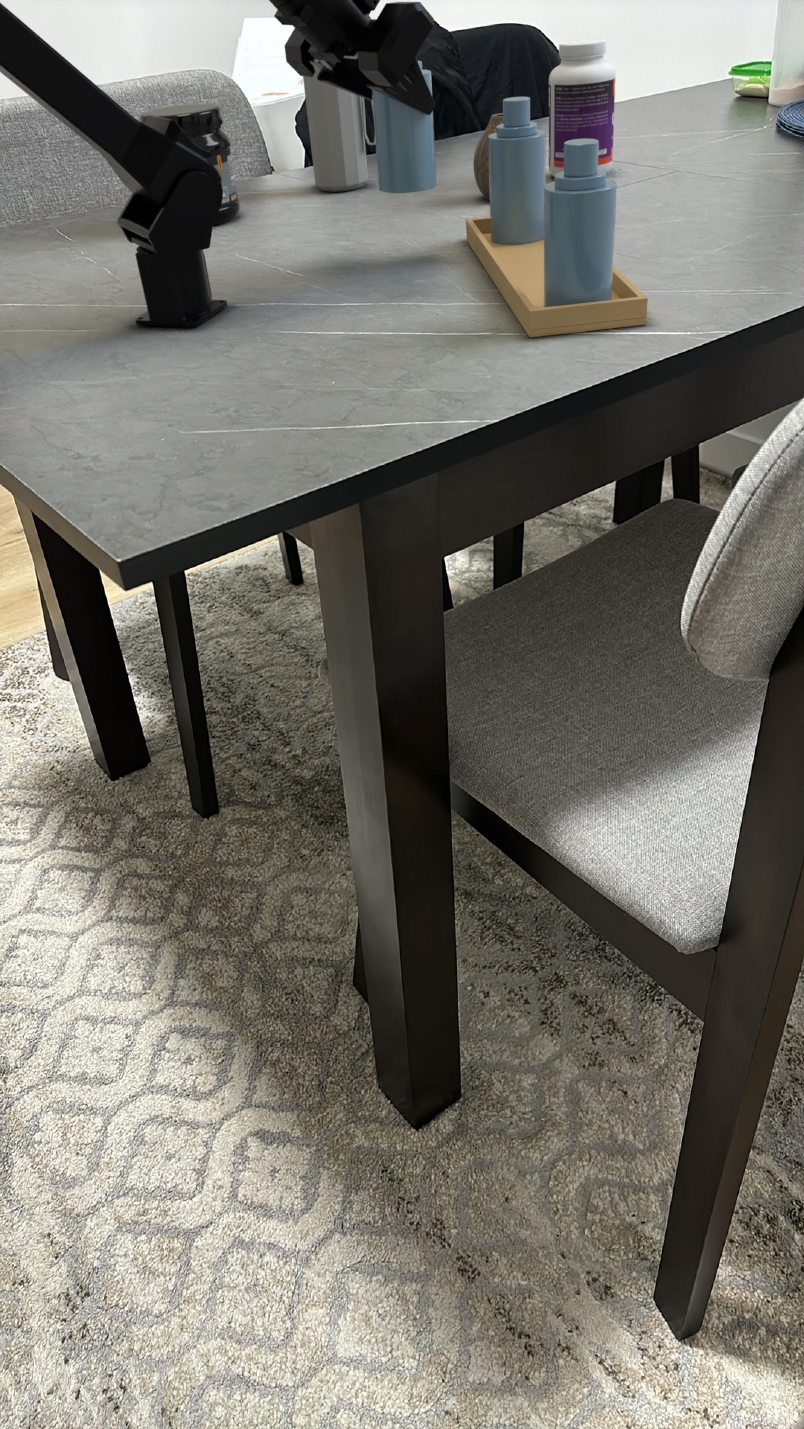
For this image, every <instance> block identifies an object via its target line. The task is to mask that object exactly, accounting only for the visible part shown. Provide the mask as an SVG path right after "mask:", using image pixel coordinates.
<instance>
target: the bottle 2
mask: <svg viewBox="0 0 804 1429" xmlns="http://www.w3.org/2000/svg"><path fill="white" fill-rule="evenodd" d="M598 146H599V141H598V140H596V139H574V140H569V141H566V142H565V143H564V171H561V172H559V173H556V174H555V176H553V177H554V180H553V181H552V182H549V183H547V184H545V187H544V287H543V307H552V306H561V305H570V304H579V303H588V302H597V301H606V300H612V281H613V265H614V256H615V235H616V234H615V232H616V231H615V230H616V211H617V188H618V183H617V181H615V180H613V179H610V178H607V177H608V176H607V175H608V173H607V172H606V171H604V170H601V169H598Z"/></svg>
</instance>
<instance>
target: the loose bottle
mask: <svg viewBox="0 0 804 1429" xmlns="http://www.w3.org/2000/svg"><path fill="white" fill-rule="evenodd" d="M417 61H418V64H419V67H420V69H421V72H422V74H423V76H424V79H425V81H426V83H427V86H428V88H429V90H430V93H431V95H432V96H433V90H432V89H433V85H432V70H429V69H423V62H422V60H417ZM371 90H372V103H373V110H372V116H373V115H374V116H373V127H374V137H375V141H376V144H375V153H376V165H377V167H376V168H377V178H378V180H377V181H378V190H379V191H380V192H382V193H386V194H410V193H419V192H423V191H429V190H431V189H434V188H435V187H436V186H437V173H436V172H437V170H436V169H437V168H436V149H435V147H436V146H435V128H434V127H435V126H434V110H433V111H432V113H431V114H430V115H426V114H424V113H422V112H419V111H417V110H415V109H413V108H411V107H409V106H407V105H404V104H402V103H400V102H398V101H396V100H394V99H392V98H390V97H388V96H386V95H383V94H381V93H379V92H377V91H375V90H373V89H371Z"/></svg>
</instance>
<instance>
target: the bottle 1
mask: <svg viewBox="0 0 804 1429" xmlns="http://www.w3.org/2000/svg"><path fill="white" fill-rule="evenodd" d="M502 113H503V124H500V125H498V126H496V133H493V134H490V135H489V136H488V148H489V191H490V200H489V217H490V233H491V241H492V242H494V243H498V244H506V245H518V244H527V243H533V242H536V241H539V240H541V239H543V238H544V187H545V186H546V153H547V152H546V150H547V149H546V148H547V147H546V143H547V142H546V141H547V139H546V136H547V134H546V133H547V132H546V131H545V130H543V129H538V123H537V122H536V121H531V97H530V96H511V97H506V98H504V99H503V100H502Z"/></svg>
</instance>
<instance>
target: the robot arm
mask: <svg viewBox="0 0 804 1429" xmlns="http://www.w3.org/2000/svg"><path fill="white" fill-rule="evenodd" d="M268 1H269V2H270V3H271V5H273V6H274V8H275V9H276V12H275V13H274V15H273V18H275V19H276V20H277V21H278V22H279V23H280V25H282V26H293V28H294V29H293V30H292V32H291V34H290V36H289V37H288V39H287V40H286V42H285V44H284V52H285V61H286V64H288V65H289V66H290V67H291V68H292V69H293V70H294V71H295V72H296V73H297V74H298V75H299V76H300V77H303V76H306V77H313V75H314V74H315V72H316V71H315V68H314V66H313V65H312V64H311V63H310V62H313V63H314V64H315V65H316V66H317V67H318V68H319V69H320V72H319V74H318V76H317V80H318V81H320V82H323V83H326V84H329V85H332V86H334V87H337V88H340V89H342V90H345V91H347V92H350V93H353V94H355V95H358V96H360V97H363V98H364V99H366V100H368V101H370V102H371V101H372V90H371V89H373V90H375V91H377V92H379V93H381V94H383V95H386V96H388V97H390V98H392V99H394V100H396V101H398V102H400V103H402V104H404V105H407V106H409V107H411V108H413V109H415V110H417V111H419V112H422V113H424V114H426V115H430V114H431V113H432V111H433V112H434V109H435V108H436V102H435V100H434V97H433V94H432V95H431V93H430V90H429V88H428V86H427V83H426V81H425V79H424V76H423V74H422V72H421V69H420V67H419V64H418V61H419V60H418V58H417V54H418V53H419V51H420V49H421V48H422V46H423V45H424V42H426V40H427V38H428V36H429V35H430V33H431V31H432V29H433V28H434V26H435V18H434V17H433V16H432V15H431V14H430V12H429V11H428V10H427V9H426V7H425V6H424V5H423V3H421V1H394V2H387V3H385V4H384V6H383V8H382V9H381V11H380V13H379V15H378V16H377V18H371V16H370V14H371V13H372V12H373V11H375V10H376V8H377V6H378V5H379V3H380V2H381V0H268ZM0 74H2V75H3V76H5V78H7V79H8V80H9V81H10V82H12V83H13V84H14V85H16V86H17V87H18V88H19V89H20V90H21V91H23V92H24V93H25V94H26V95H28V96H29V97H30V98H31V99H33V100H34V101H35V102H36V103H38V104H39V105H40V106H41V107H43V108H44V109H45V110H46V111H48V112H49V113H50V114H51V115H52V116H54V117H55V118H56V119H57V120H59V121H60V122H61V123H62V124H64V125H65V126H66V127H67V128H68V129H70V130H71V131H72V132H73V133H75V134H76V135H77V136H78V137H80V138H81V139H82V140H83V141H85V142H86V143H87V144H88V145H90V146H91V147H92V148H93V149H94V150H95V151H97V152H98V153H99V154H100V155H101V156H102V157H103V158H104V159H105V161H106V163H107V164H108V165H109V166H110V167H111V169H112V170H113V172H114V173H115V174H116V176H117V177H118V179H119V180H120V181H121V182H122V184H123V185H124V186H125V187H126V188H127V189H128V190H129V191H130V192H131V195H130V197H129V198H128V200H127V202H126V203H125V205H124V207H123V208H122V211H121V212H120V214H119V216H118V218H117V225H118V227H119V228H120V230H121V231H122V233H123V235H124V237H125V238H126V240H127V242H128V243H131V244H135V245H137V247H136V249H135V250H136V253H135V254H134V255H135V260H136V265H137V269H138V274H139V278H140V282H141V287H142V291H143V296H144V300H145V305H146V310H147V311H146V312H144V313H142V314H141V315H139V316H137V317H136V318H135V320H134V321H135V325H137V326H156V327H157V326H163V327H192V328H193V327H199V326H200V325H201V324H203V323H204V322H206V321H208V320H209V319H210V318H212V317H213V316H215V315H217V314H218V313H219V312H221V311H223V310H224V309H225V308H226V307H228V305H229V304H228V301H227V300H226V299H213V294H212V289H211V288H212V287H211V284H210V278H209V272H208V267H207V262H206V261H207V260H206V255H205V253H204V250H207V249H209V248H210V247H211V242H212V233H213V227H214V225H213V219H214V218H215V216H216V215H217V214H218V212H219V209H220V207H221V204H222V197H223V190H222V183H221V181H222V179H221V176H220V174H219V172H218V171H217V169H216V168H215V167H214V166H213V165H212V164H211V162H209V161H208V160H206V159H207V158H209V157H211V156H212V153H211V152H210V151H207V150H204V149H202V148H200V147H199V146H197V145H196V144H194V143H193V142H192V140H191V139H190V138H189V137H188V136H187V135H186V133H185V132H184V131H183V130H182V128H181V127H180V126H179V125H178V124H177V123H176V122H175V121H174V120H170V119H166V118H161V117H157V116H153V115H148V116H147V119H146V121H145V124H143V123H142V122H140V120H139V119H137V118H135V117H134V116H133V115H131V114H130V113H129V112H128V111H127V110H126V109H125V108H124V107H122V106H121V105H120V104H119V103H118V102H116V101H115V100H114V99H113V98H112V97H111V96H109V95H108V94H107V93H106V92H105V91H104V90H103V89H102V88H100V87H99V86H98V85H96V84H95V83H94V82H93V81H92V80H91V79H90V78H88V77H87V76H86V75H85V74H84V73H83V72H82V71H81V70H79V69H78V68H77V67H76V66H75V65H74V64H72V63H71V62H70V61H69V60H67V59H66V58H65V57H64V56H63V55H62V54H61V53H60V52H58V51H57V50H56V49H55V48H54V47H53V46H52V45H50V44H49V43H48V42H47V41H46V40H44V39H43V38H42V37H41V36H40V35H39V34H38V33H36V32H35V30H33V29H32V28H30V27H29V25H27V24H26V23H25V22H23V21H22V20H21V18H19V17H18V16H16V15H15V13H13V12H12V11H11V10H10V9H9V8H8V7H6V6H5V5H4V4H3V3H1V2H0Z"/></svg>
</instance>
